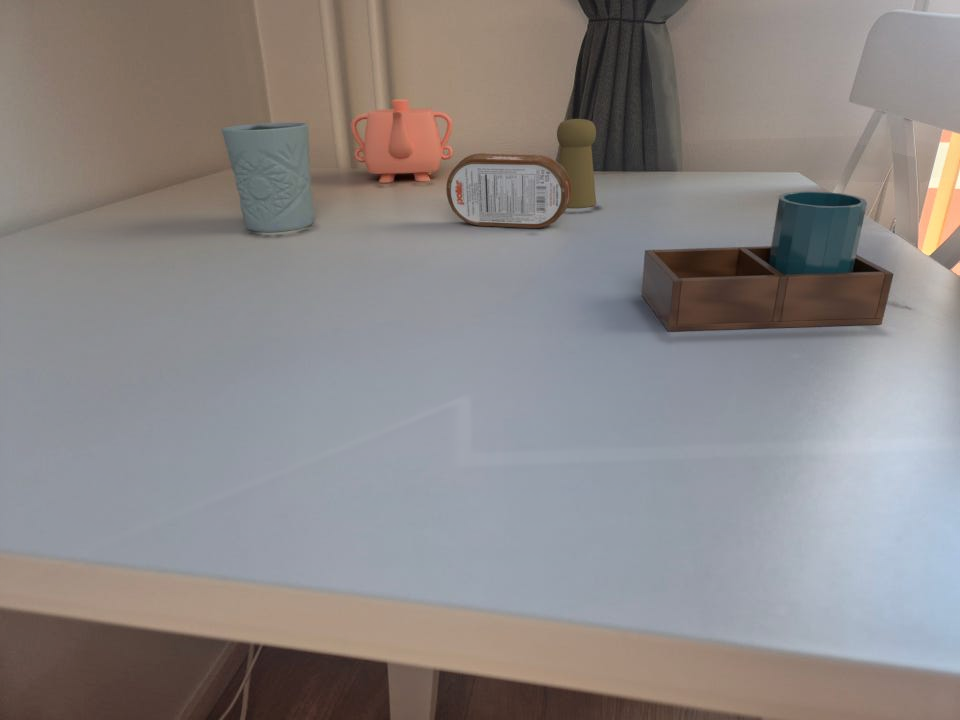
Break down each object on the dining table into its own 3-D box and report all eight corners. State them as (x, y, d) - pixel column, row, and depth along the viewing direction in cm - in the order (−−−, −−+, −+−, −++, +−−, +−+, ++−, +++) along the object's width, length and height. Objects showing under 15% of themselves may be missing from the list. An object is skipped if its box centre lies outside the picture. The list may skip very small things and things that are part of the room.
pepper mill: (604, 205, 92) (608, 119, 88) (565, 209, 90) (567, 122, 86) (582, 197, 97) (585, 116, 93) (544, 201, 95) (545, 119, 91)
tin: (570, 225, 82) (573, 153, 79) (566, 231, 79) (568, 157, 76) (452, 220, 86) (450, 152, 83) (445, 226, 83) (441, 155, 80)
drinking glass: (257, 237, 80) (240, 131, 75) (226, 223, 88) (208, 126, 83) (334, 223, 86) (322, 124, 81) (298, 211, 93) (286, 119, 88)
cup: (822, 285, 57) (840, 190, 54) (860, 310, 52) (883, 205, 49) (751, 288, 57) (766, 192, 54) (782, 313, 52) (800, 208, 48)
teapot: (409, 167, 127) (404, 95, 121) (470, 176, 116) (468, 97, 111) (342, 178, 117) (333, 100, 112) (402, 189, 106) (395, 103, 101)
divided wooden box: (827, 289, 59) (836, 243, 57) (881, 324, 51) (894, 273, 49) (641, 295, 58) (644, 249, 57) (668, 331, 51) (673, 280, 49)
